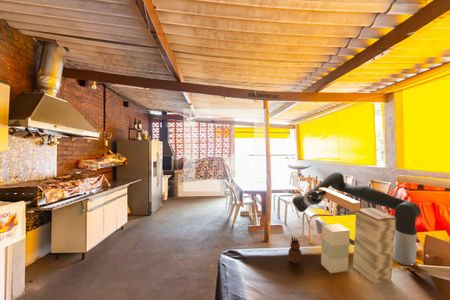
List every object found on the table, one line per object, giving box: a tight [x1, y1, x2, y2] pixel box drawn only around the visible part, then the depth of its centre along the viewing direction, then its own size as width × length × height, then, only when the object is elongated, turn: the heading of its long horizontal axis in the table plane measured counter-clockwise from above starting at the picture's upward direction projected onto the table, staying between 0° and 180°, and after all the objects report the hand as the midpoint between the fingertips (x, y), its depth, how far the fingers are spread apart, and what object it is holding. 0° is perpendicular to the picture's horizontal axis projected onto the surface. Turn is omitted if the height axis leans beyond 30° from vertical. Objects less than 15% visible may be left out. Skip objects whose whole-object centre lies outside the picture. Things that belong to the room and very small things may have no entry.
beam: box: [318, 188, 361, 212], centre depth 115 cm, size 4×26×4 cm, turn 11°
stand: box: [352, 207, 396, 284], centre depth 112 cm, size 10×13×32 cm
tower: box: [320, 223, 351, 274], centre depth 117 cm, size 10×8×22 cm
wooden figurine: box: [288, 236, 302, 264], centre depth 123 cm, size 7×6×15 cm
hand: (328, 191), depth 121 cm, fingers closed on beam, 4 cm apart
